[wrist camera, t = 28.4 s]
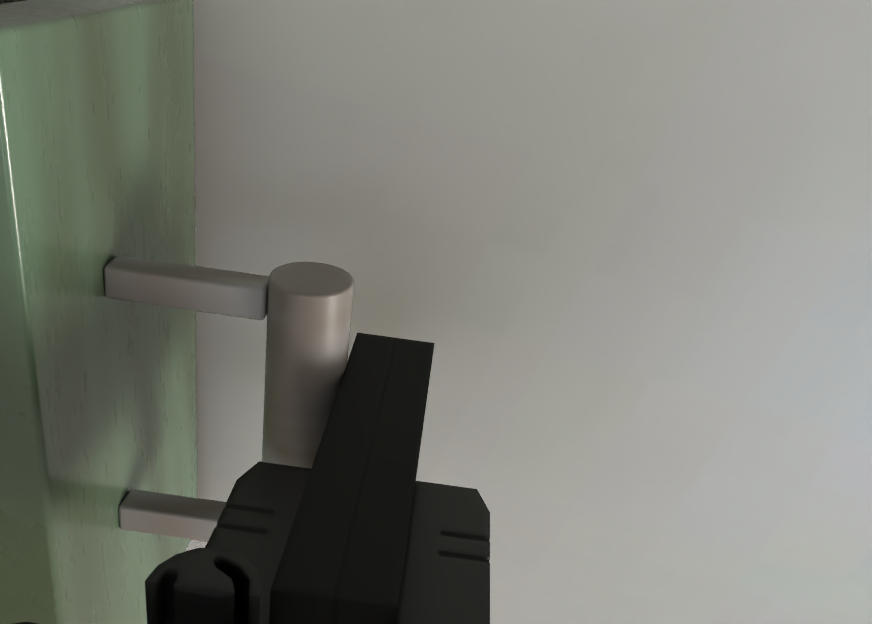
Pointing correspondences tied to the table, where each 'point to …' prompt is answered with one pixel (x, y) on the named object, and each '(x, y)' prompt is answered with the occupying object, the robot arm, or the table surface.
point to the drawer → (122, 312)
